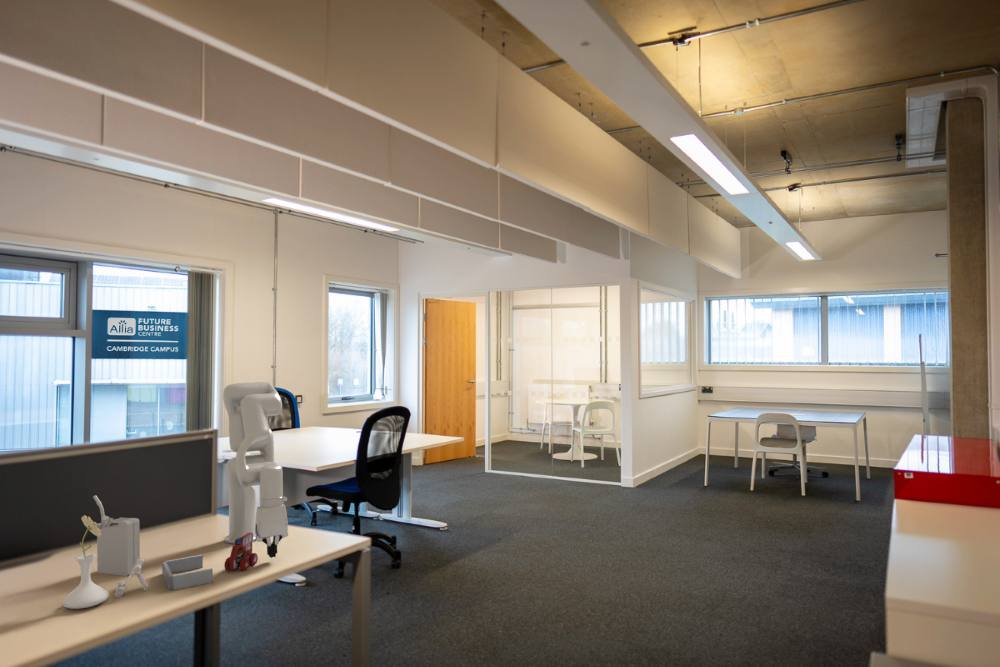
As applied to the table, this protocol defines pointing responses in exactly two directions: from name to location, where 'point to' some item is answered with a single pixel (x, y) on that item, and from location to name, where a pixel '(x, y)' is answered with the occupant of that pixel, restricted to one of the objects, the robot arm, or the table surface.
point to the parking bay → (186, 578)
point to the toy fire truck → (242, 554)
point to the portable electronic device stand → (135, 570)
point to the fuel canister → (117, 544)
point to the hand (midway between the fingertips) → (272, 556)
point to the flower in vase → (86, 577)
